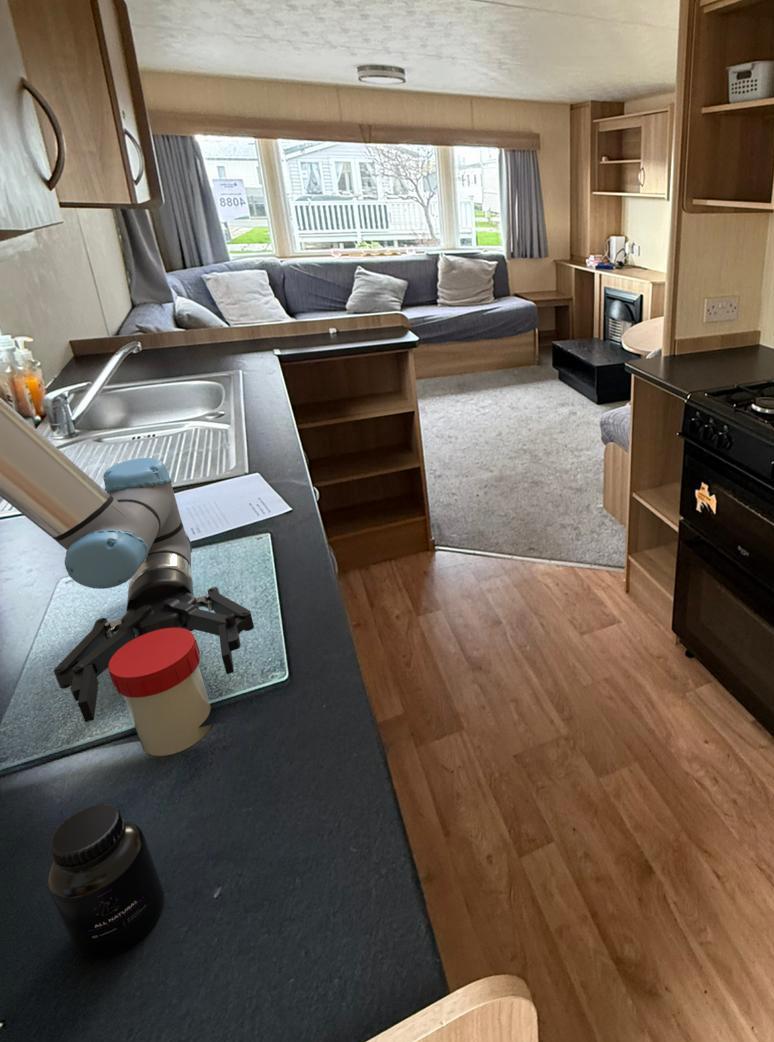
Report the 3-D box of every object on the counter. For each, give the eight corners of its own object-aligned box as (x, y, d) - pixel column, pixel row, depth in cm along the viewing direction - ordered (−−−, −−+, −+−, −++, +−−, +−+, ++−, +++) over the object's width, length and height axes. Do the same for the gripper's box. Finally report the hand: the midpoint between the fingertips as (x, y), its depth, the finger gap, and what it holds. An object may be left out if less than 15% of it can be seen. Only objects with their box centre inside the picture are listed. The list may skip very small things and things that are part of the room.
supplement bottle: (123, 970, 56) (80, 876, 51) (56, 954, 57) (8, 861, 52) (184, 888, 62) (151, 799, 57) (122, 876, 63) (85, 787, 58)
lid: (153, 705, 71) (146, 684, 70) (97, 688, 73) (89, 668, 72) (216, 654, 78) (211, 634, 77) (163, 640, 81) (157, 621, 80)
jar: (140, 766, 75) (111, 689, 70) (143, 722, 81) (117, 648, 76) (215, 738, 78) (192, 663, 74) (213, 698, 84) (191, 626, 80)
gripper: (265, 585, 98) (285, 670, 81) (57, 645, 85) (30, 760, 69) (255, 542, 95) (274, 621, 78) (38, 598, 83) (5, 706, 66)
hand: (160, 687), depth 73 cm, fingers open, 13 cm apart
